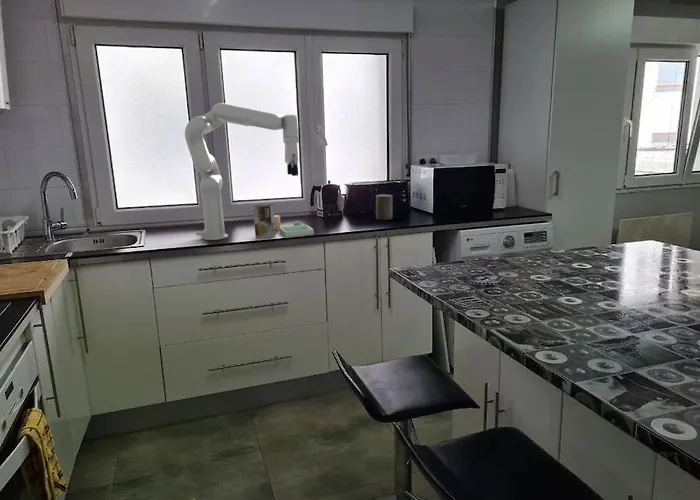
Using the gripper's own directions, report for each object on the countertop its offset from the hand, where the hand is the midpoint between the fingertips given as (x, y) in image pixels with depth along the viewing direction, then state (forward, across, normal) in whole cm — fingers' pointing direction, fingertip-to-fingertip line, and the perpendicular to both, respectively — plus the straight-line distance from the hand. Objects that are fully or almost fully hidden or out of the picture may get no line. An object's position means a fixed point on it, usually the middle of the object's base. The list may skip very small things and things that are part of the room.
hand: (292, 174), depth 256 cm
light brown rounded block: (+30, -14, -9) cm, 34 cm away
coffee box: (+31, 0, -16) cm, 34 cm away
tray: (+30, 0, 0) cm, 30 cm away
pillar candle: (+30, -22, +58) cm, 69 cm away
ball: (+30, -15, +4) cm, 34 cm away
